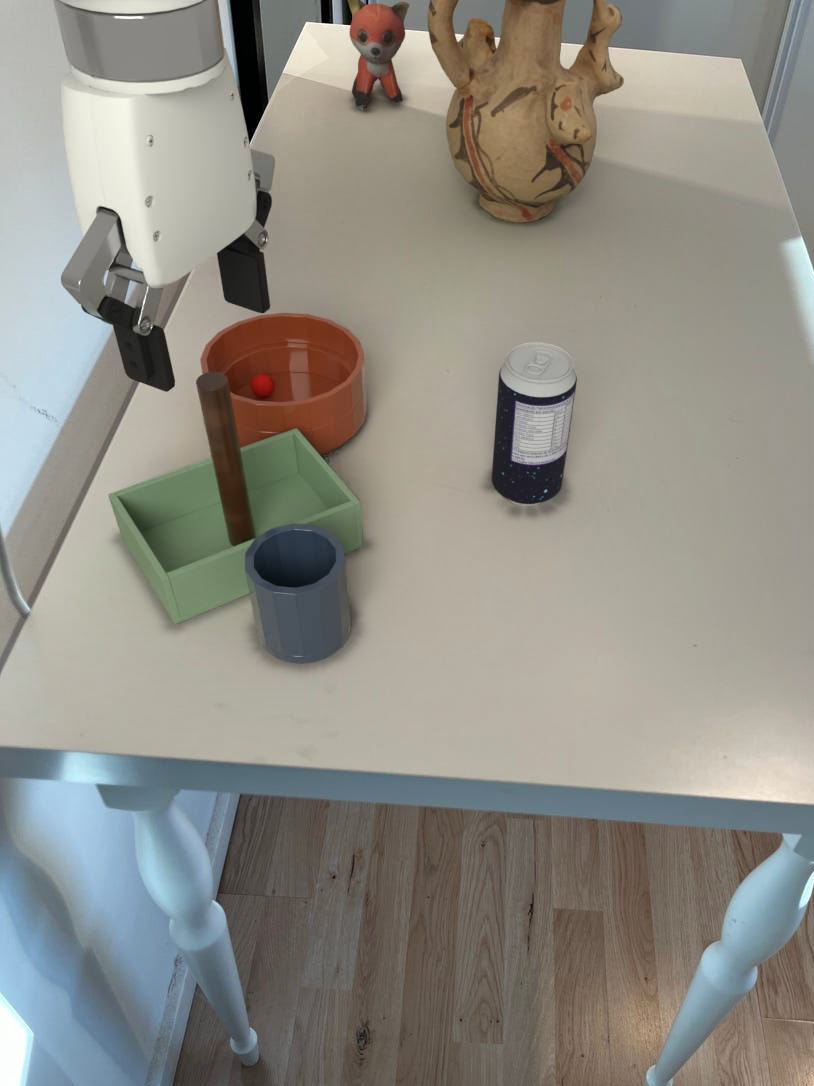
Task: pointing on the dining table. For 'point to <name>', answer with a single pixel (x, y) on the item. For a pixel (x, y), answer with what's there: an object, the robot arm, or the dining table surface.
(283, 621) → the holder
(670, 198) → the dining table surface
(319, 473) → the tray
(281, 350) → the bowl
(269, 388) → the berry
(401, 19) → the stuffed fox
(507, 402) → the beverage can
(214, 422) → the stick
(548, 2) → the ceramic vessel
